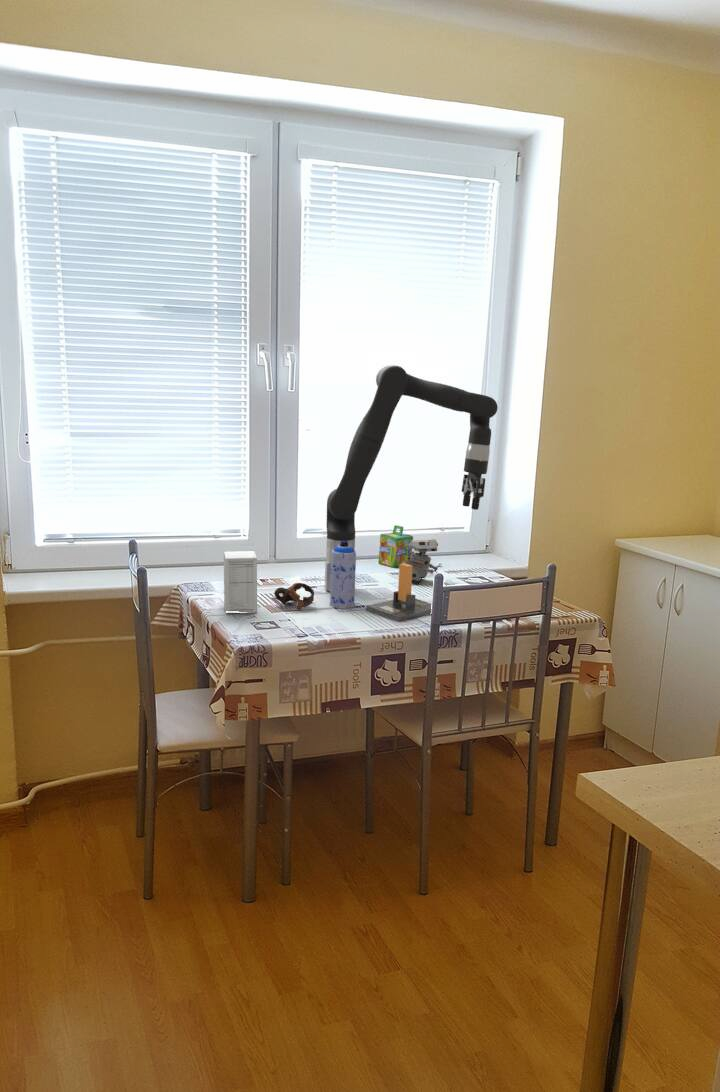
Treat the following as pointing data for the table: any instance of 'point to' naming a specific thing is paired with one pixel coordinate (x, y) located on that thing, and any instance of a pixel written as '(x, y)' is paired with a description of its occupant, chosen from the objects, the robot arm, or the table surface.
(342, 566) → the blue patterned bottle
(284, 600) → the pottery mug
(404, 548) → the chalk box
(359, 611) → the table surface
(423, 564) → the figurine
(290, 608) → the table surface
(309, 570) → the table surface
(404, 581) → the lever
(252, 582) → the supplement box
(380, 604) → the plate
